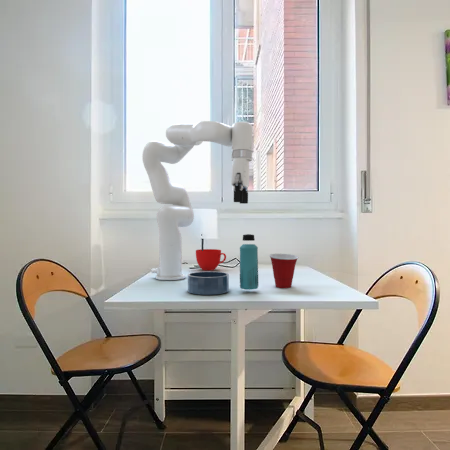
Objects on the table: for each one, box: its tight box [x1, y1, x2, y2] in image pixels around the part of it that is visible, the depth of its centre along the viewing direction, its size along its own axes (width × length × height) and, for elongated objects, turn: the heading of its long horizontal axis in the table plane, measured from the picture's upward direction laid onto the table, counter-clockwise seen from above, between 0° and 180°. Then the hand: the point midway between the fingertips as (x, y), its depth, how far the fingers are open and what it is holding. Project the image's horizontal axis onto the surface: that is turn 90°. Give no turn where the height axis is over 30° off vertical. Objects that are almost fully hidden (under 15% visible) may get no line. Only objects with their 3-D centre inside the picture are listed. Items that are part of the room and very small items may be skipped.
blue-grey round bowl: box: [187, 271, 230, 296], centre depth 123 cm, size 14×14×6 cm
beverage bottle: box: [238, 233, 259, 290], centre depth 121 cm, size 6×7×20 cm
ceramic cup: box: [195, 248, 227, 271], centre depth 178 cm, size 13×17×10 cm
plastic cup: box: [269, 253, 299, 289], centre depth 131 cm, size 11×11×12 cm
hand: (241, 202), depth 130 cm, fingers open, 9 cm apart
